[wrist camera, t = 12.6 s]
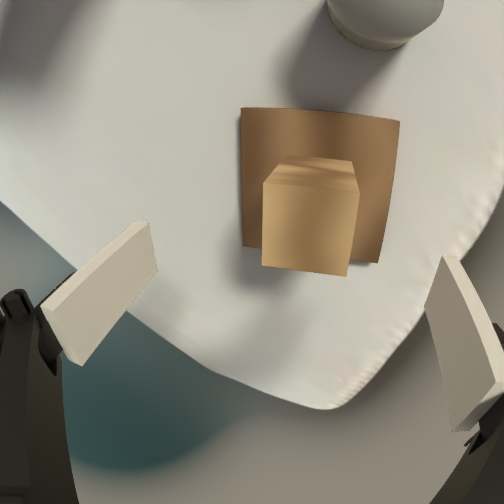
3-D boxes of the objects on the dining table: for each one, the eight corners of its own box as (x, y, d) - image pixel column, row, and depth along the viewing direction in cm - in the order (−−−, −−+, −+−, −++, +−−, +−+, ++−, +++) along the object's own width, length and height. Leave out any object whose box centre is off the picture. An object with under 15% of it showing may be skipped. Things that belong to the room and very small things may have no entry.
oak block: (283, 214, 25) (261, 265, 18) (286, 154, 22) (263, 183, 15) (344, 221, 24) (346, 276, 17) (351, 161, 21) (359, 193, 14)
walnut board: (246, 240, 28) (242, 246, 27) (245, 107, 22) (240, 108, 21) (376, 256, 25) (377, 263, 24) (396, 120, 20) (399, 121, 19)
